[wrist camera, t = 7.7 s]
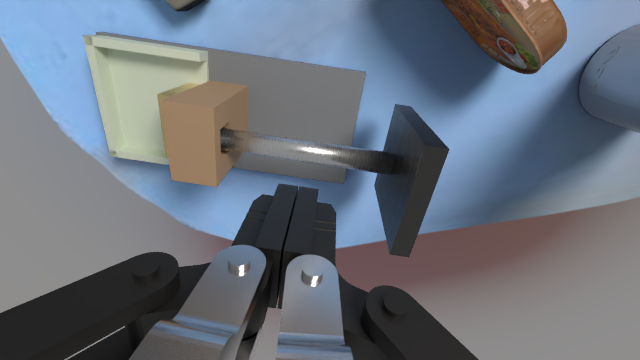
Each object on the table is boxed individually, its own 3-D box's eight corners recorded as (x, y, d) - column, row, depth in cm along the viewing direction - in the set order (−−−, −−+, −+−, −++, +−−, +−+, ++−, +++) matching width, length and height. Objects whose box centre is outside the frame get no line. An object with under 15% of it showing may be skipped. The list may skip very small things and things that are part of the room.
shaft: (410, 106, 28) (449, 149, 18) (387, 187, 32) (409, 257, 22) (213, 76, 27) (145, 103, 18) (217, 162, 32) (163, 221, 22)
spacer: (207, 85, 30) (179, 97, 25) (210, 138, 33) (185, 159, 28) (188, 82, 30) (157, 94, 25) (193, 136, 33) (165, 156, 28)
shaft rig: (365, 71, 30) (376, 91, 21) (343, 180, 36) (345, 233, 27) (103, 32, 30) (-5, 34, 21) (126, 148, 36) (51, 190, 27)
